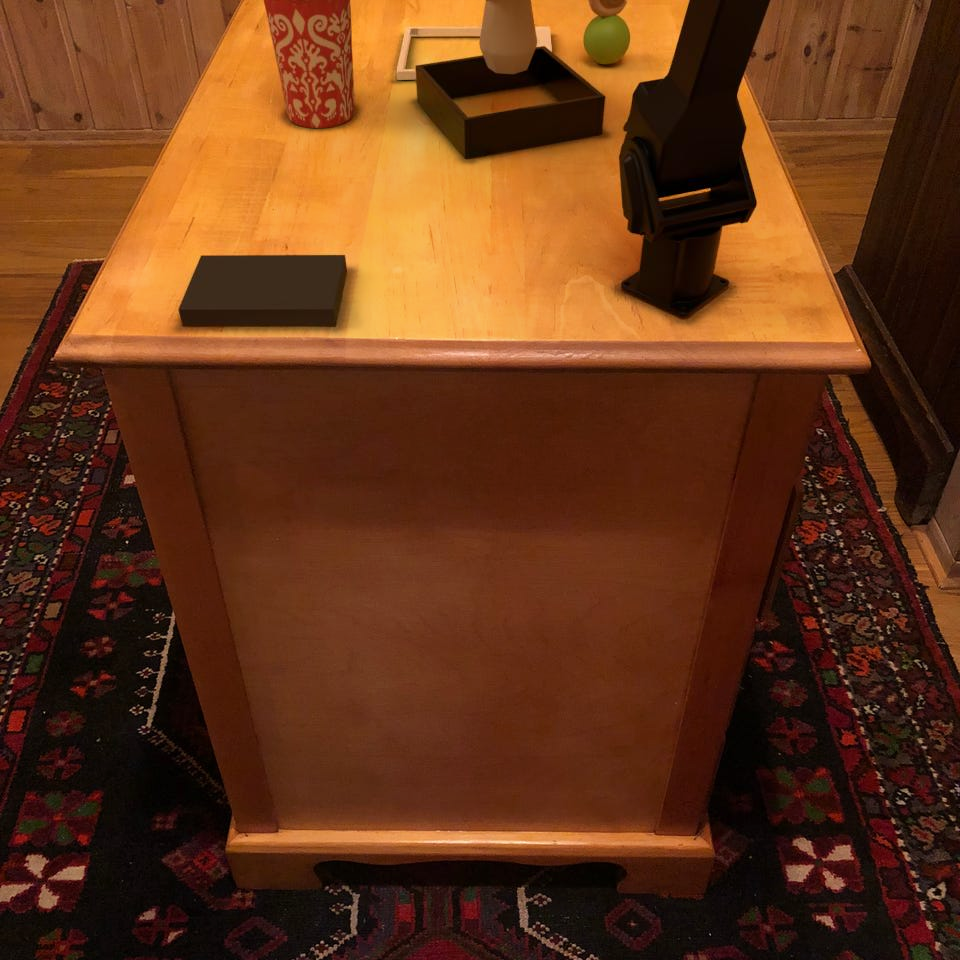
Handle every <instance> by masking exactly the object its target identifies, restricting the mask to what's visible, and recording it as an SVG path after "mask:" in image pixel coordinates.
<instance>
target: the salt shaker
mask: <svg viewBox="0 0 960 960" xmlns="http://www.w3.org/2000/svg"><path fill="white" fill-rule="evenodd" d="M534 18H535V17H534V12H533V5H532V0H488V1H486V0H485V3H484V9H483V16H482V23H481V27H482V28H481V35H480V36H479V43H478V45H479V49H480V51H481V54H482V55H483V56H484V59H485V61H486V64H487V66H488V68H490V69H491V70H492V71H494V72H495V73H502V74H516V73H519V72H522V71H525V70H527V69H528V66H529V64H530V61H531V59H532V56H533V54H534V51H535V49H536V45H537V37H536V31H535V27H536V26H535V19H534Z"/></svg>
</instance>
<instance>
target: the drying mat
mask: <svg viewBox="0 0 960 960" xmlns="http://www.w3.org/2000/svg"><path fill="white" fill-rule="evenodd" d="M347 273H348V267H347V258H346V255H345V254H239V255H238V254H232V255H231V254H228V255H225V254H223V255H221V254H219V255H217V254H216V255H213V254H212V255H211V254H209V255H207V254H206V255H205V254H204V255H200V257H199V259H198V262H197V263H196V267H195V269H194V271H193V273H192V276H191V278H190V281H189V283H188V285H187V288H186V290H185V292H184V294H183V297H182V300H181V302H180V305H179V306H178V315H179V318H180V322H181V325H182V327H336V326H337V323H338V318H339V313H340V308H341V303H342V299H343V293H344V289H345V283H346V279H347Z"/></svg>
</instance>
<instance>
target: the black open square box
mask: <svg viewBox="0 0 960 960" xmlns="http://www.w3.org/2000/svg"><path fill="white" fill-rule="evenodd" d="M415 69H416V80H415V81H416V82H415V83H416V85H415V86H416V102H417V104H419V106H420V107H421V108H422V109H423V111H424V112H425V113H426V114H427V116H428V117H429V118H430V119H431V121H433V123H434V124H435V125H436V127H438V129H439V130H440V131H441V132H442V134H444V136H445V138H447V139H448V141H449V143H451V145H452V146H454V148H455V149H456V150H457V151H458V152H459V155H461V156H462V158H464V160H470V159H475V158H480V157H487V156H492V155H498V154H503V153H508V152H509V153H510V152H514V151H520V150H525V149H531V148H536V147H541V146H542V147H543V146H548V145H554V144H559V143H563V142H571V141H574V140H581V139H586V138H592V137H598V136H602V135H603V131H604V120H605V119H604V118H605V106H606V105H605V104H606V95H605V94H603V93H602V92H601V91H600V90H598V89H597V88H596V87H595V86H593V84H591V83H590V82H589V81H588V80H586V79H585V78H584V77H583V76H581V75H580V74H579V73H578V72H577V71H575V70H574V69H573V68H572V67H571V66H569V65H568V64H567V63H566V62H565V61H563V60H562V59H561V58H559V56H557V55H556V54H555V53H554V52H553V51H552V52H551V51H550V50H549V49H547V48H546V47H545V46H541V47H536V49H535V51H534V54H533V56H532V59H531V61H530V64H529V66H528V69H527V70H525V71H522V72H519V73H516V74H502V73H495V72H494V71H492V70H491V69H490V68H488V66H487V64H486V61H485V59H484V56H483V54H482V55H475V56H469V57H463V58H455V59H449V60H442V61H436V62H429V63H423V64H417V65H415ZM539 85H540V86H541V87H543V88H544V89H545V90H546V91H547V92H548V93H549V94H550V95H551V96H552V97H554V98H555V99H556V100H557V101H556V102H549V103H544V104H538V105H532V106H531V105H530V106H525V107H520V108H514V109H508V110H501V111H496V112H490V113H489V112H488V113H483V114H478V115H473V116H468V115H467V114H466V113H465V112H464V111H463V110H462V109H461V108H460V107H459V105H458V104H457V103H456V102H455V101H454V99H459V98H467V97H471V96H476V95H478V96H479V95H484V94H491V93H496V92H503V91H509V90H514V89H515V90H516V89H522V88H527V87H533V86H539Z"/></svg>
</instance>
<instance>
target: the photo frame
mask: <svg viewBox="0 0 960 960" xmlns="http://www.w3.org/2000/svg"><path fill="white" fill-rule="evenodd" d="M481 28H482V26H405V28H404V34H403V37H402V43H401V48H400V52H399V57H398V63H397V67H396V80H397V81H399V80H400V81H402V80H403V81H404V80H405V81H406V80H407V81H410V80H414V81H416V68H415V69H414V68H413V69H411V68H410V69H409V68H406V66H407V60H408V55H409V50H410V45H411V39H412V37H480V35H481ZM535 31H536V37H537V45H536V47H541V46H545V47H546V48H547V49H549V50H550V51H551V52H552V53H553V48H552V38H551V37H552V36H551V28H550V26H535Z"/></svg>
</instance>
